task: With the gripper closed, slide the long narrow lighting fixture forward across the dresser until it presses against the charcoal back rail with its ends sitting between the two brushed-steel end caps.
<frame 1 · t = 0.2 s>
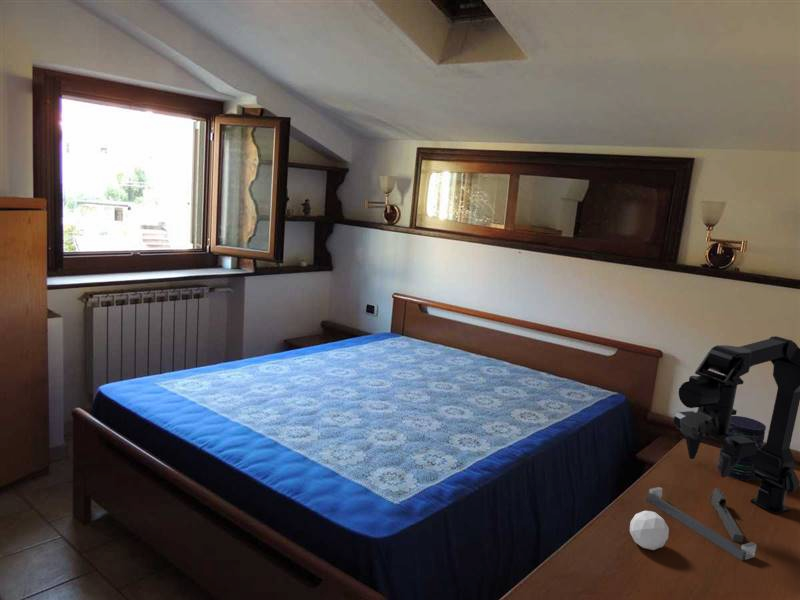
hand: (707, 467, 144), 14 cm above the dresser, tool pointing down, fingers open, 9 cm apart
end cap rail: (696, 526, 145), on the dresser
storage jar: (735, 473, 176), on the dresser
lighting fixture: (726, 522, 149), on the dresser
geometric ball: (646, 546, 135), on the dresser
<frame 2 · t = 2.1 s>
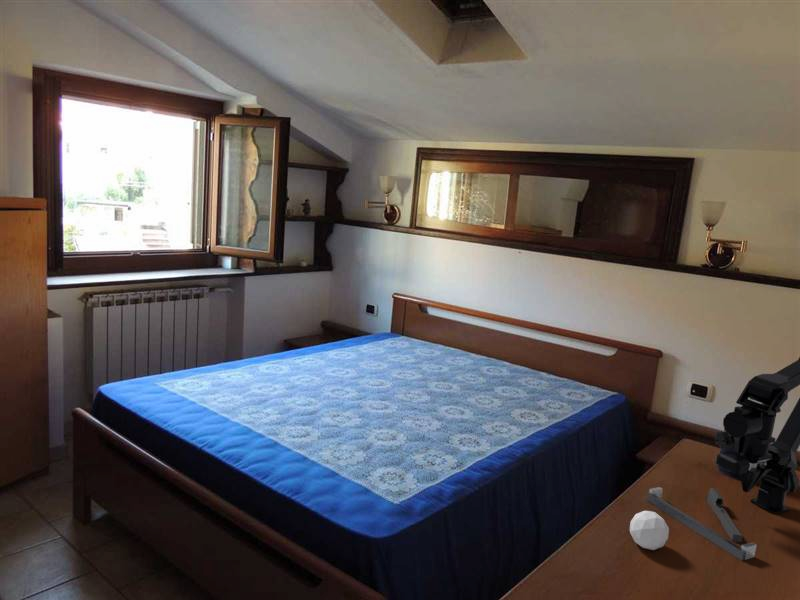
hand: (745, 491, 151), 6 cm above the dresser, tool pointing down, fingers closed
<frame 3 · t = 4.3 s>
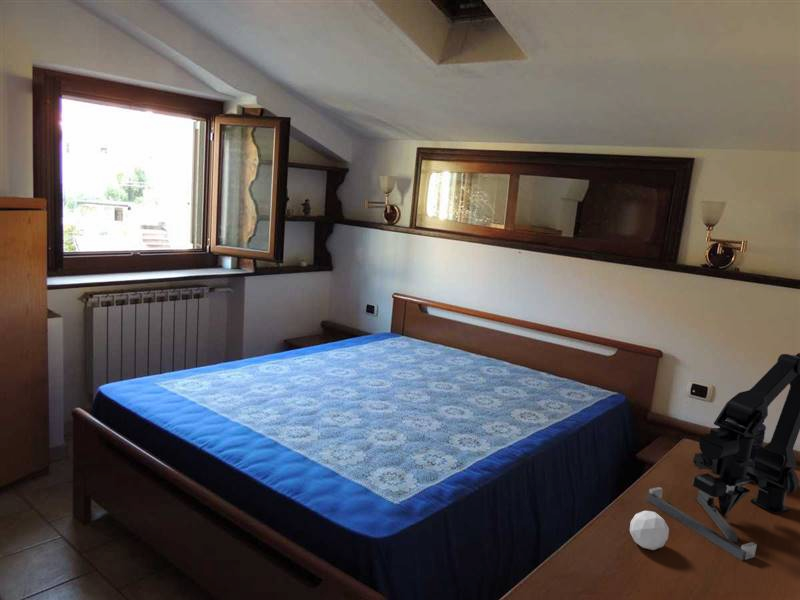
hand: (723, 514, 149), 2 cm above the dresser, tool pointing down, fingers closed
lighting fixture: (715, 522, 149), on the dresser
everything else where it was.
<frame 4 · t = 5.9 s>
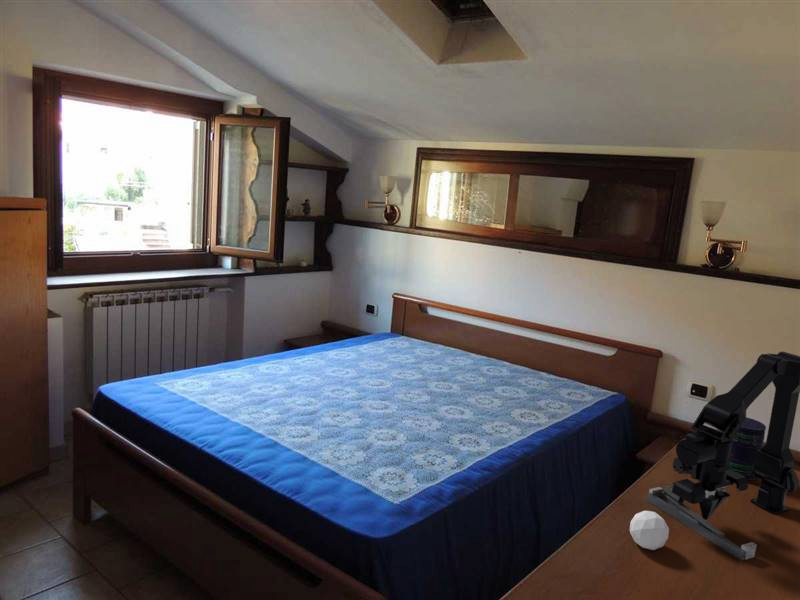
hand: (704, 518, 146), 2 cm above the dresser, tool pointing down, fingers closed
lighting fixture: (690, 520, 148), on the dresser, touching end cap rail, gripper
everything else where it was.
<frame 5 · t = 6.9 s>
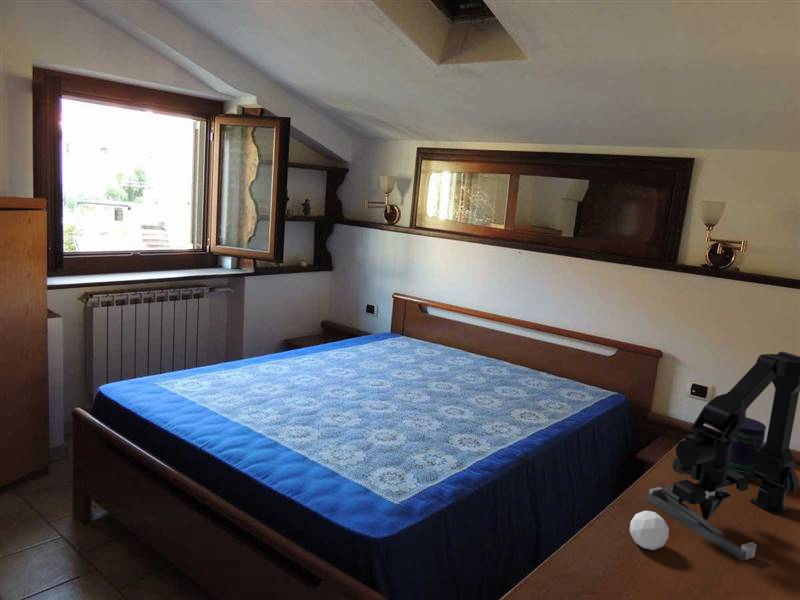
hand: (705, 519, 146), 1 cm above the dresser, tool pointing down, fingers closed
nothing on the dresser moved.
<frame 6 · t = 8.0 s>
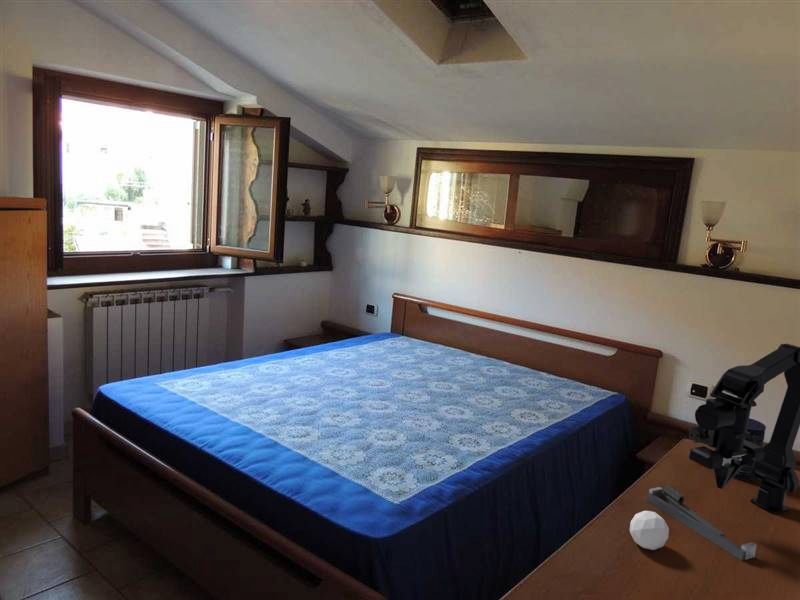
hand: (720, 488, 146), 9 cm above the dresser, tool pointing down, fingers closed
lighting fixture: (690, 520, 148), on the dresser
everything else where it was.
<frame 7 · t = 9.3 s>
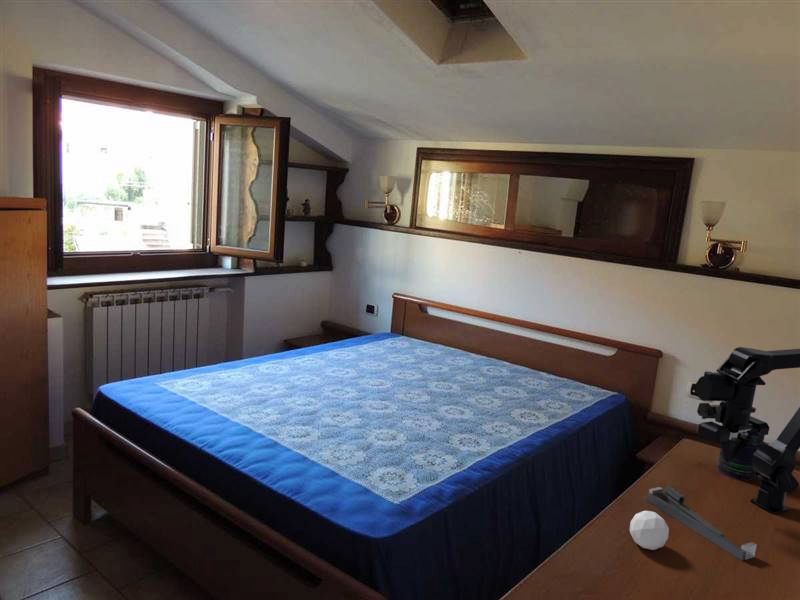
hand: (727, 461, 153), 12 cm above the dresser, tool pointing down, fingers closed
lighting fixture: (690, 520, 149), on the dresser, touching end cap rail
everything else where it was.
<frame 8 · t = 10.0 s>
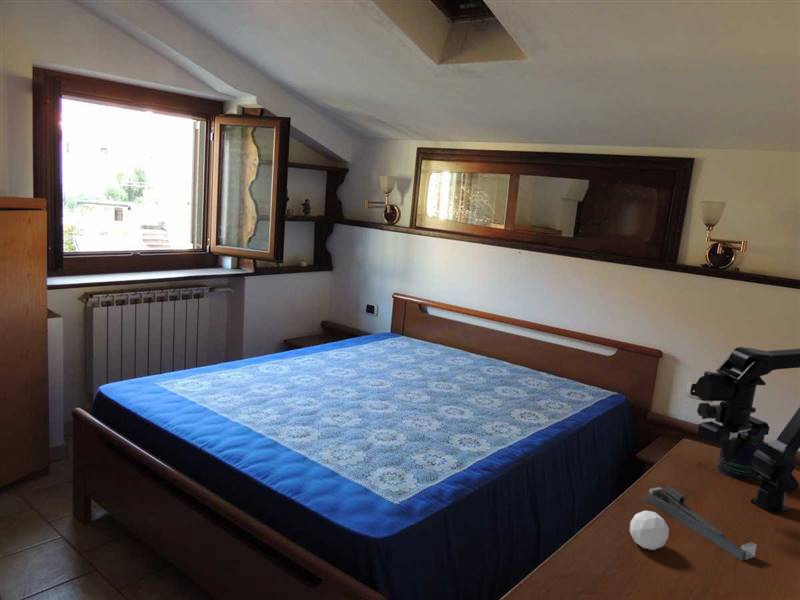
hand: (727, 461, 153), 12 cm above the dresser, tool pointing down, fingers closed
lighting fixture: (691, 520, 149), on the dresser
everything else where it was.
at the end: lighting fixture 3.1 cm from the target spot, on the dresser; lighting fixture tilted 0°; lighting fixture moved 8.7 cm from its start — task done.
